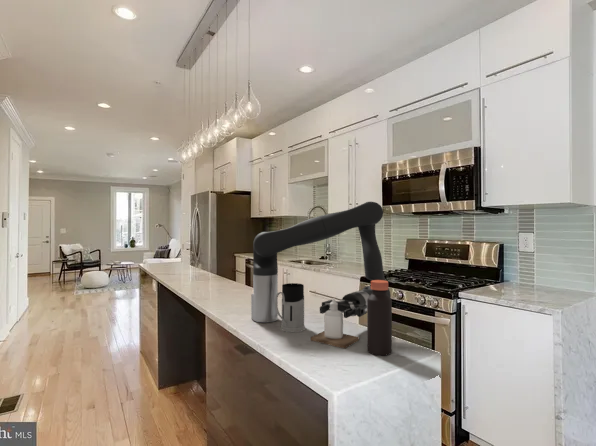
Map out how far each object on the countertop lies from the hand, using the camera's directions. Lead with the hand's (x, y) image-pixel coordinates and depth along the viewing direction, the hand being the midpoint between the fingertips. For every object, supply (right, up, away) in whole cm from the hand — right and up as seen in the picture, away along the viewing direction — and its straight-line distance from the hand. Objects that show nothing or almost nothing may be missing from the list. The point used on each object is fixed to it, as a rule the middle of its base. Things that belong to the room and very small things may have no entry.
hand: (332, 312), depth 106 cm
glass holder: (-14, -9, +11) cm, 20 cm away
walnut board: (+1, -9, +1) cm, 9 cm away
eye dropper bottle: (0, -8, +1) cm, 8 cm away
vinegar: (+12, -9, -8) cm, 18 cm away
